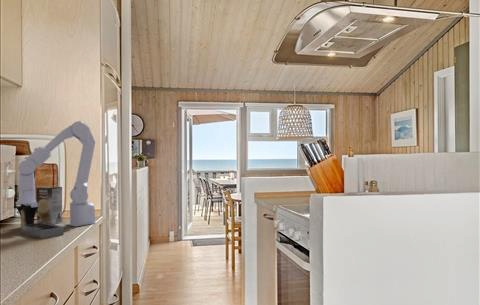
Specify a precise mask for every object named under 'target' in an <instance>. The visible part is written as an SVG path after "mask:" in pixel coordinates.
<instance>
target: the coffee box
mask: <svg viewBox="0 0 480 305" xmlns="http://www.w3.org/2000/svg"><path fill="white" fill-rule="evenodd" d="M35 200H36V202H37V207H38V210H37V211H36V214H35V216H36V223H42V222H45V223H49V224H53V225H57V224H61V222H62V223H63V187H62V186H51V185H50V186H49V185H48V186H39V187H35Z"/></svg>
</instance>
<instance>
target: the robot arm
mask: <svg viewBox="0 0 480 305" xmlns="http://www.w3.org/2000/svg"><path fill="white" fill-rule="evenodd" d="M71 138H76V139H77V140H78V141H79V142H80V143H81V145H82V148H81V153H80V158H79V163H78V168H77V172H76V178H75V183H74V184H73V188H72V190H70V193H69V195H70V196H69V197H70V199H71V200H72V201H71V202H70V203H69V220H70V222H68V223H67V222H66V226H70V227H71V226H72V227H80V226H86V225H88V226H89V225H93V224H97V222H96V219H95V218H96V209H95V208H96V207H95V205H94V204H93V202H89V201H87V200H88V198H89V193H88V184H89V183H88V182H89V176H90V171H91V167H92V163H93V162H92V161H93V157H94V151H95V145H96V141H95V139H94V136H93V134H92V131H91V129H90V127H89V126H88V124H86V123H85V122H84V121H81V120H77V121H75V122H73V123H72V124H71V125H68V126H67V127H66V128H64V129H63V130H62V131H60V132H59V133H58V134H57V135H56V136H54V138H53V139H52V140H50V141H49V142H48V143H47V144H46V145H45V146H38V147H35V148H34V149H33V152H32V153H30V154H29V155H28V156H24V160H22V161H21V162H20V163H19V164H18V168H17V170H18V171H19V173H18V199H17V201H15V204H16V205H18V206H16V210H17V212H18V214H19V216H20V218H21V210H23V212H24V215H25V220H26V224H27V225H28V224H33V221H34V222H35V216H36V211H37V210H38V207H37V202H36V178H35V171H36V168H40V166H42V165H43V164H44V163H45V162H46V161H47V160H49V159H50V157H51V156H52V155H51V154H52V153H51V152H52V151H53V150H54V149H56V148H57V147H58V146H60V144H62V143H63V142H64V141H65V140H67V139H71Z"/></svg>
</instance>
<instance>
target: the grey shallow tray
mask: <svg viewBox="0 0 480 305" xmlns="http://www.w3.org/2000/svg"><path fill="white" fill-rule="evenodd" d="M64 230H65V229H64V226H62V225H57V224H49V223H45V222H42V223H35V222H34V224H28V225H22V230H21V233H22V234H23V235H27V236H30V237H34V238H36V239H40V240H42V239H48V238H55V237H58V236H59V237H60V236H64Z"/></svg>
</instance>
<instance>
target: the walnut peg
mask: <svg viewBox="0 0 480 305" xmlns="http://www.w3.org/2000/svg"><path fill="white" fill-rule="evenodd" d="M33 224H35V220H34V221H33ZM22 225H27V224H26V220H25V215H24V212H23V210H21V217H20V230H21V231H22Z"/></svg>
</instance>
